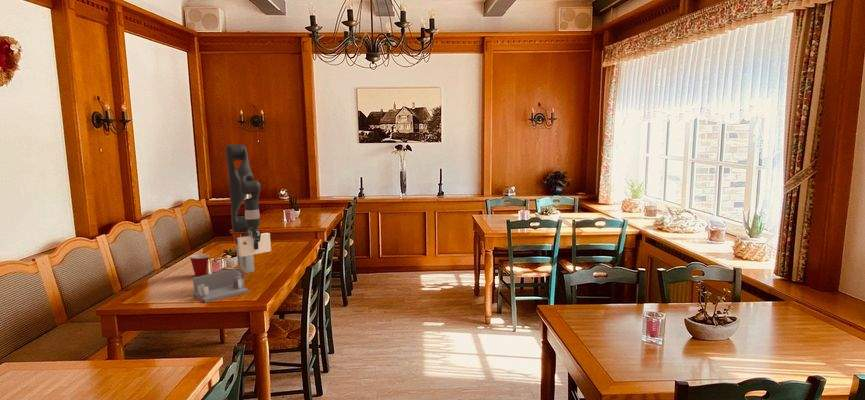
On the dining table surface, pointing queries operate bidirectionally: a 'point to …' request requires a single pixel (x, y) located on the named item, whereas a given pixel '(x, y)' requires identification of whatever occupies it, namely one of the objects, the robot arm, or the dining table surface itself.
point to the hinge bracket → (218, 286)
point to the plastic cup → (199, 264)
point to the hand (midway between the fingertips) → (254, 248)
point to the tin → (239, 271)
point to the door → (248, 245)
